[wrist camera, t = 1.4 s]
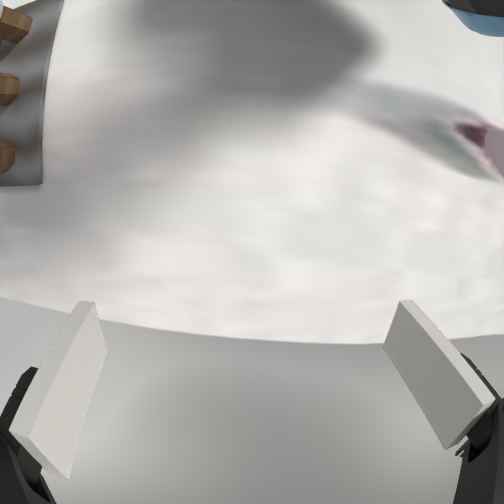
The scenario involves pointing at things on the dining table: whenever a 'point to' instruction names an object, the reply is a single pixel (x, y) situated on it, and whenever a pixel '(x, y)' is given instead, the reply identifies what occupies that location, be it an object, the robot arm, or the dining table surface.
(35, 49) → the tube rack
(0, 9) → the ball grey
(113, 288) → the dining table surface
